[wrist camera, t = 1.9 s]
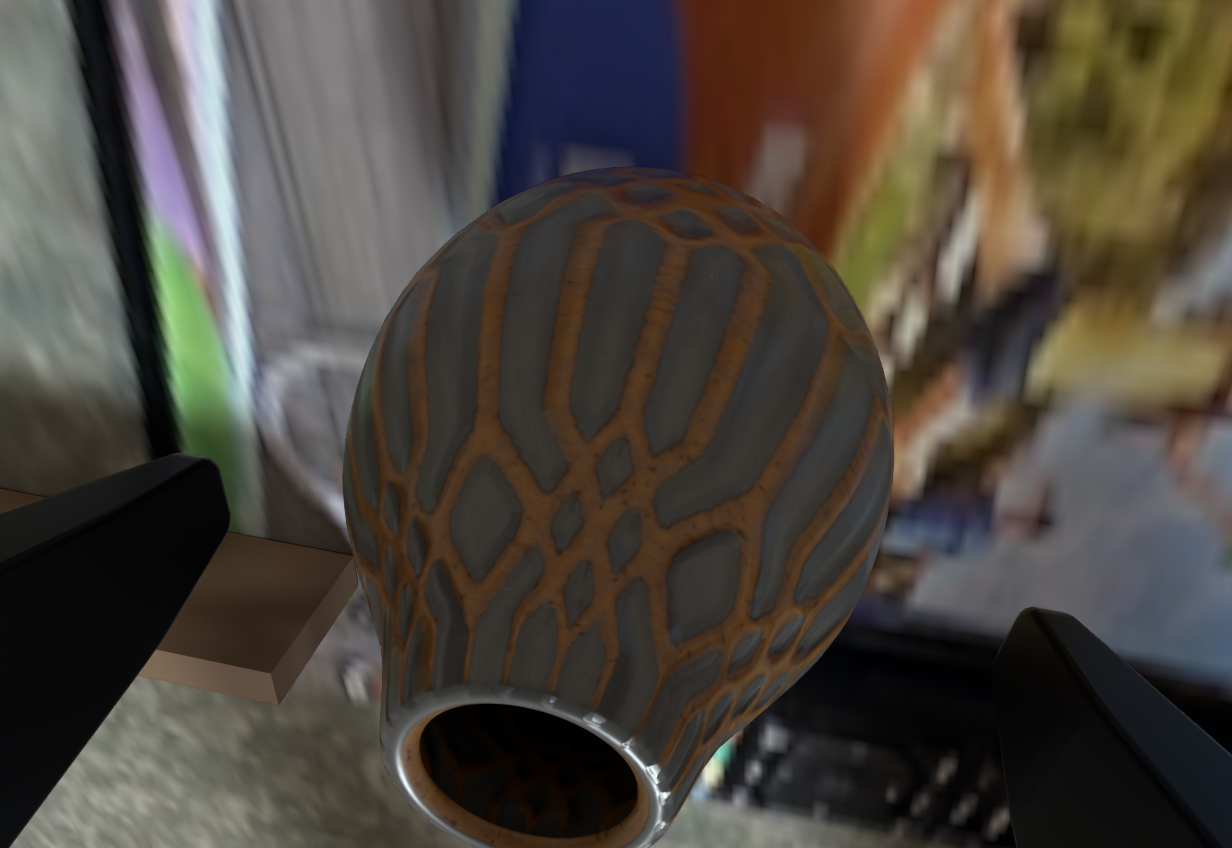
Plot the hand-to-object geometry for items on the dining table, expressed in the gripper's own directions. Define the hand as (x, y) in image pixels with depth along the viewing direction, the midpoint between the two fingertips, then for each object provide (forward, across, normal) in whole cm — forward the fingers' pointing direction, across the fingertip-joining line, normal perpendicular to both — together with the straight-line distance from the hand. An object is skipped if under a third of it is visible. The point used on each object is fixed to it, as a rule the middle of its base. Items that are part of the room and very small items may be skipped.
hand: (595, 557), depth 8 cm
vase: (+6, 0, 0) cm, 6 cm away
